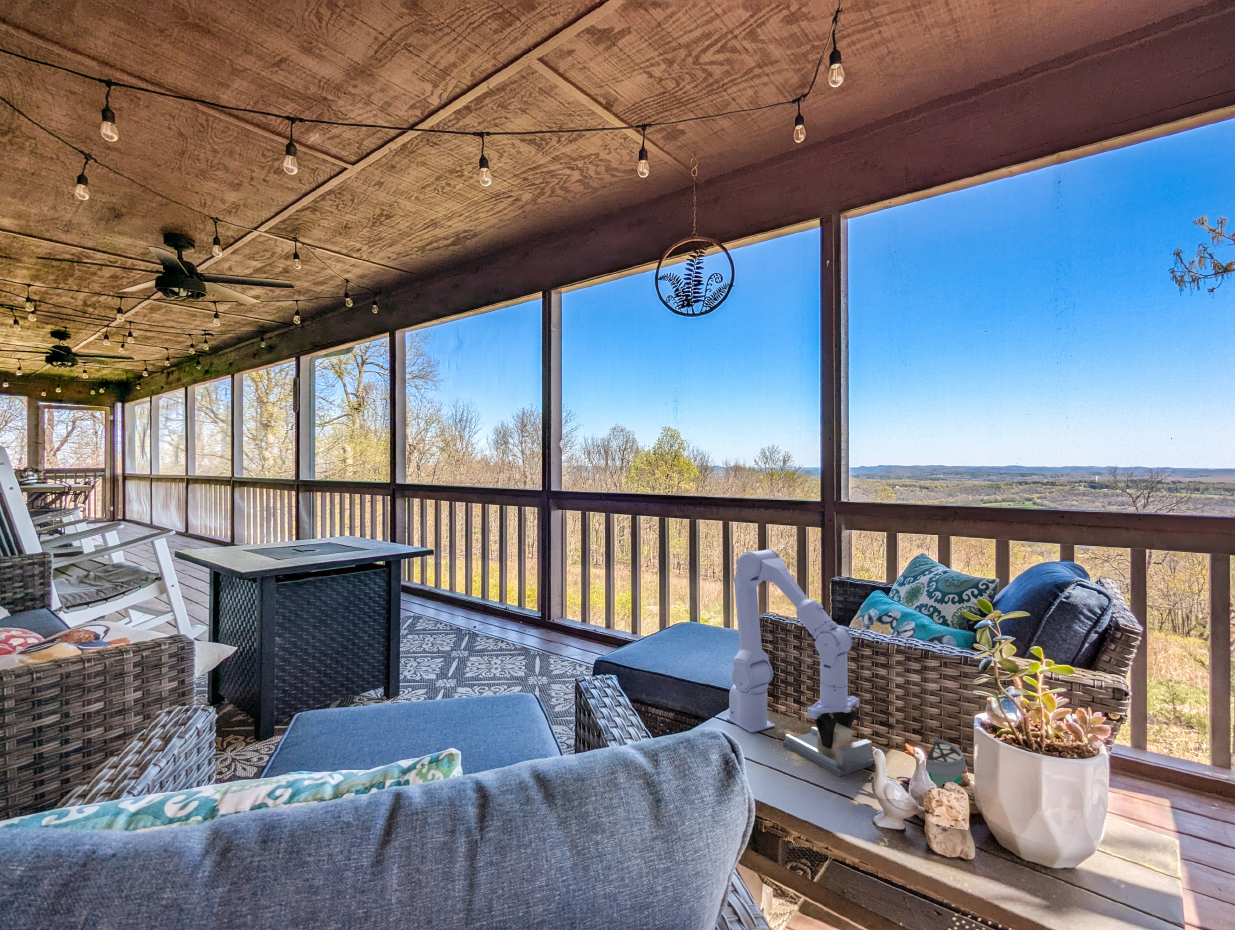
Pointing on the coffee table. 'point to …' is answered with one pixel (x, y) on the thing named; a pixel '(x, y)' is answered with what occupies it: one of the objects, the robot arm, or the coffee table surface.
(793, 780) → the coffee table surface
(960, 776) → the food container
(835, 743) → the birch block
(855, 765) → the rail board
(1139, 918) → the coffee table surface
